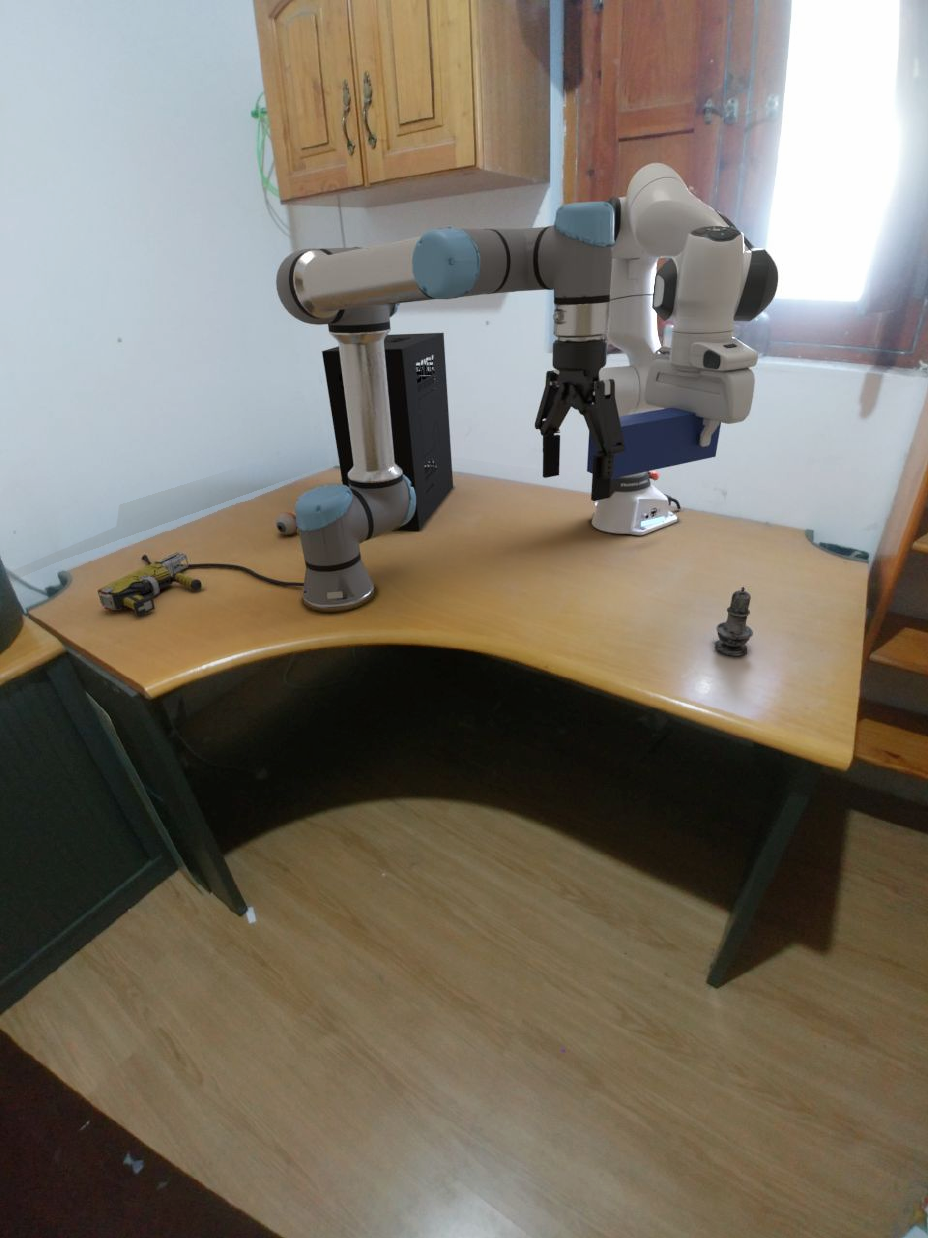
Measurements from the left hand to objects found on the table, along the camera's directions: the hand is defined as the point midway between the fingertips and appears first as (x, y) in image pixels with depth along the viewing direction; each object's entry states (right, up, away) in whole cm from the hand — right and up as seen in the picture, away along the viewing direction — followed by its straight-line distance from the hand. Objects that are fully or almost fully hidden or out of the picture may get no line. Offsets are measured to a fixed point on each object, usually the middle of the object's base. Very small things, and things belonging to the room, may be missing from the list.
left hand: (574, 487), depth 94 cm
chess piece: (+30, -26, +12) cm, 41 cm away
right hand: (+20, +9, +6) cm, 23 cm away
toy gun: (-85, -15, +44) cm, 97 cm away
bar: (+14, +5, +5) cm, 16 cm away
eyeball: (-65, +2, +71) cm, 96 cm away
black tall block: (-35, +13, +86) cm, 94 cm away
